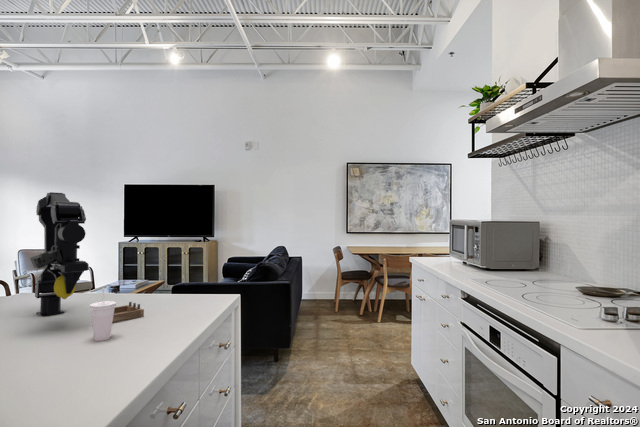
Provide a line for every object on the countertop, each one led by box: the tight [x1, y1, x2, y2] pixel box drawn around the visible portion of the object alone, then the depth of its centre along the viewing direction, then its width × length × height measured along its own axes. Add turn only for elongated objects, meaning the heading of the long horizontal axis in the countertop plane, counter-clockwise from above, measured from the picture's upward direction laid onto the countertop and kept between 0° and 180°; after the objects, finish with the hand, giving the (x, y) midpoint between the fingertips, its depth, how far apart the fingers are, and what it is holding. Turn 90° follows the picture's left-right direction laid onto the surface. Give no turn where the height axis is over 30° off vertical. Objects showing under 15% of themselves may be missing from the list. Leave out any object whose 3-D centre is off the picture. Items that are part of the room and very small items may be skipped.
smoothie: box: [88, 287, 117, 342], centre depth 98 cm, size 6×6×14 cm
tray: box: [112, 301, 145, 324], centre depth 119 cm, size 11×11×4 cm
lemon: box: [53, 275, 77, 300], centre depth 109 cm, size 6×6×8 cm
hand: (64, 292), depth 109 cm, fingers closed on lemon, 5 cm apart
